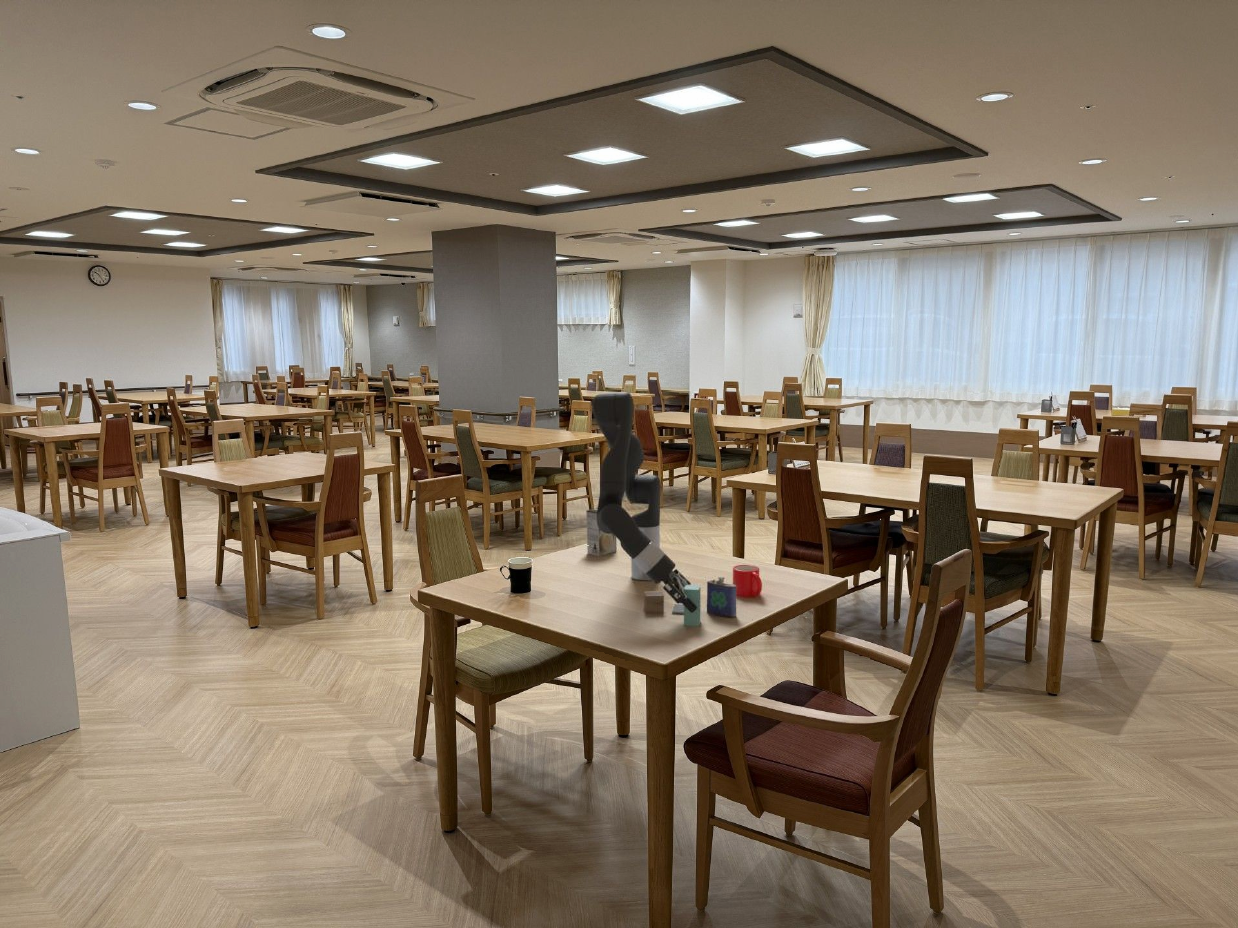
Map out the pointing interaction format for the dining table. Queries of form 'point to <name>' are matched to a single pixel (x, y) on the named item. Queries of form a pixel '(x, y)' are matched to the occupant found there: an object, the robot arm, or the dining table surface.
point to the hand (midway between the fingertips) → (696, 605)
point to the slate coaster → (678, 609)
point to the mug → (747, 580)
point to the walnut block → (653, 602)
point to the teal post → (694, 596)
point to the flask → (721, 598)
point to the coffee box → (598, 537)
